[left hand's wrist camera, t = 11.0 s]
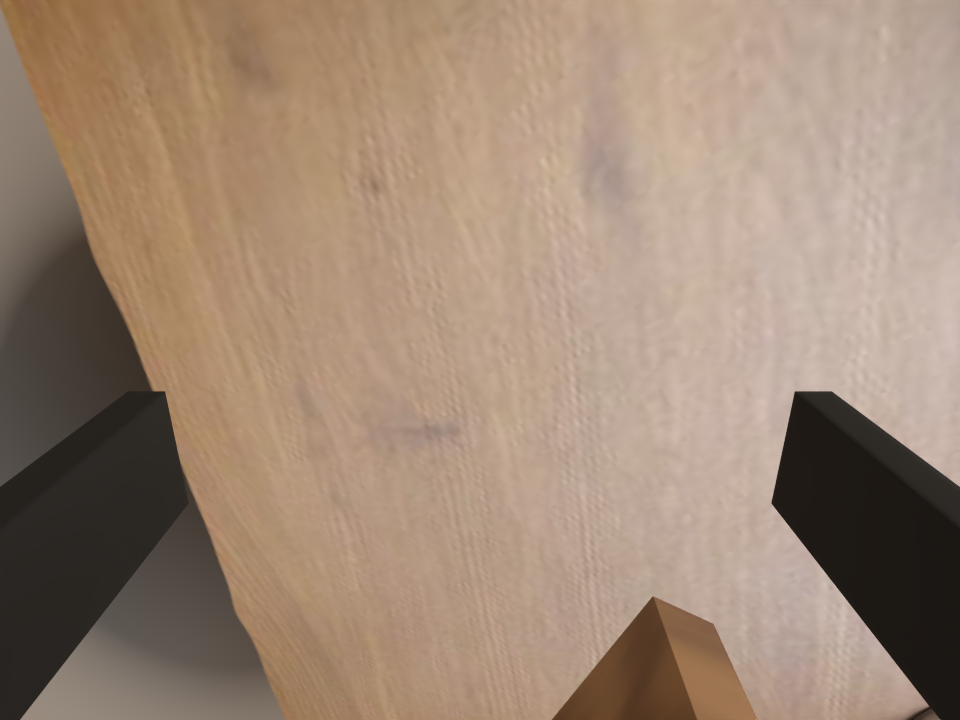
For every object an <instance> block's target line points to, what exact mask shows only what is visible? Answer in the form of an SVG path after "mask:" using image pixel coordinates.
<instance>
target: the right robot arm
mask: <svg viewBox="0 0 960 720" xmlns="http://www.w3.org/2000/svg"><path fill="white" fill-rule="evenodd" d="M913 720H940V719H939V718H938V716H937V715H936V714H935V713H934V711H933V710H932V709H930V710H928V711H926V712H924V713H922V714H920V715H919V716H917V717H916V718H914V719H913Z"/></svg>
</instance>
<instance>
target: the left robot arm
mask: <svg viewBox="0 0 960 720" xmlns="http://www.w3.org/2000/svg"><path fill="white" fill-rule="evenodd" d="M187 505H188V499H187V494H186V489H185V484H184V480H183V475H182V470H181V465H180V460H179V456H178V451H177V446H176V441H175V437H174V432H173V427H172V422H171V418H170V413H169V408H168V403H167V399H166V394H165V392H127V393H126V394H124V395H123V396H122V397H120V398H119V399H118V400H116V401H115V402H114V403H112V404H111V405H110V406H108V407H107V408H105V409H104V410H103V411H102V412H100V413H99V414H97V415H96V416H95V417H94V418H92V419H91V420H89V421H88V422H87V423H85V424H84V425H83V426H81V427H80V428H79V429H77V430H76V431H75V432H73V433H72V434H71V435H69V436H68V437H67V438H65V439H64V440H63V441H61V442H60V443H59V444H57V445H56V446H55V447H53V448H52V449H51V450H49V451H48V452H47V453H45V454H44V455H42V456H41V457H40V458H38V459H37V460H36V461H34V462H33V463H32V464H30V465H29V466H28V467H26V468H25V469H24V470H22V471H21V472H20V473H18V474H17V475H16V476H14V477H13V478H12V479H10V480H9V481H8V482H6V483H5V484H4V485H2V486H1V487H0V720H20V719H21V718H22V716H23V715H24V714H25V712H26V711H27V710H28V709H29V707H30V706H31V705H32V704H33V702H34V701H35V700H36V698H37V697H38V696H39V695H40V693H41V692H42V691H43V689H44V688H45V687H46V686H47V684H48V683H49V682H50V680H51V679H52V678H53V677H54V675H55V674H56V673H57V671H58V670H59V669H60V668H61V666H62V665H63V664H64V662H65V661H66V660H67V659H68V657H69V656H70V655H71V653H72V652H73V651H74V650H75V648H76V647H77V646H78V645H79V643H80V642H81V641H82V639H83V638H84V637H85V636H86V634H87V633H88V632H89V630H90V629H91V628H92V627H93V625H94V624H95V623H96V621H97V620H98V619H99V618H100V616H101V615H102V614H103V612H104V611H105V610H106V609H107V607H108V606H109V605H110V603H111V602H112V601H113V600H114V598H115V597H116V596H117V594H118V593H119V592H120V591H121V589H122V588H123V587H124V585H125V584H126V583H127V582H128V580H129V579H130V578H131V576H132V575H133V574H134V573H135V571H136V570H137V569H138V567H139V566H140V565H141V564H142V562H143V561H144V560H145V559H146V557H147V556H148V555H149V553H150V552H151V551H152V550H153V548H154V547H155V546H156V544H157V543H158V542H159V541H160V539H161V538H162V537H163V535H164V534H165V533H166V532H167V530H168V529H169V528H170V526H171V525H172V524H173V523H174V521H175V520H176V519H177V517H178V516H179V515H180V514H181V512H182V511H183V510H184V508H185V507H186V506H187ZM772 505H773V506H774V507H775V508H776V510H777V511H778V512H779V514H780V515H781V516H782V517H783V519H784V520H785V521H786V523H787V524H788V525H789V526H790V528H791V529H792V530H793V532H794V533H795V534H796V535H797V537H798V538H799V539H800V541H801V542H802V543H803V544H804V546H805V547H806V548H807V550H808V551H809V552H810V553H811V555H812V556H813V557H814V559H815V560H816V561H817V562H818V564H819V565H820V566H821V568H822V569H823V570H824V571H825V573H826V574H827V575H828V576H829V578H830V579H831V580H832V582H833V583H834V584H835V585H836V587H837V588H838V589H839V591H840V592H841V593H842V594H843V596H844V597H845V598H846V600H847V601H848V602H849V603H850V605H851V606H852V607H853V609H854V610H855V611H856V612H857V614H858V615H859V616H860V618H861V619H862V620H863V621H864V623H865V624H866V625H867V627H868V628H869V629H870V630H871V632H872V633H873V634H874V636H875V637H876V638H877V639H878V641H879V642H880V643H881V645H882V646H883V647H884V648H885V650H886V651H887V652H888V654H889V655H890V656H891V657H892V659H893V660H894V661H895V662H896V664H897V665H898V666H899V668H900V669H901V670H902V671H903V673H904V674H905V675H906V677H907V678H908V679H909V680H910V682H911V683H912V684H913V686H914V687H915V688H916V689H917V691H918V692H919V693H920V695H921V696H922V697H923V698H924V700H925V701H926V702H927V704H928V705H929V706H930V707H931V709H932V710H933V711H934V713H935V714H936V715H937V716H938V718H939V719H940V720H960V487H959V486H958V485H956V484H955V483H954V482H952V481H951V480H950V479H948V478H947V477H946V476H944V475H943V474H942V473H940V472H939V471H938V470H936V469H935V468H934V467H932V466H931V465H930V464H928V463H927V462H926V461H924V460H923V459H922V458H920V457H919V456H918V455H916V454H915V453H913V452H912V451H911V450H909V449H908V448H907V447H905V446H904V445H903V444H901V443H900V442H899V441H897V440H896V439H895V438H893V437H892V436H891V435H889V434H888V433H887V432H885V431H884V430H883V429H881V428H880V427H879V426H877V425H876V424H875V423H873V422H872V421H871V420H869V419H868V418H867V417H865V416H864V415H863V414H861V413H860V412H859V411H857V410H856V409H855V408H853V407H852V406H850V405H849V404H848V403H846V402H845V401H844V400H842V399H841V398H840V397H838V396H837V395H836V394H834V393H833V392H795V394H794V399H793V403H792V408H791V413H790V418H789V422H788V427H787V432H786V437H785V441H784V446H783V451H782V456H781V460H780V465H779V470H778V475H777V479H776V484H775V489H774V494H773V499H772Z"/></svg>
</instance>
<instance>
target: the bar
mask: <svg viewBox="0 0 960 720" xmlns="http://www.w3.org/2000/svg"><path fill="white" fill-rule="evenodd" d="M552 720H757V718H756V716H755V713H754V711H753V709H752V707H751V705H750V703H749V700H748V698H747V696H746V694H745V692H744V690H743V687H742V685H741V683H740V681H739V679H738V676H737V674H736V672H735V670H734V668H733V666H732V663H731V661H730V659H729V657H728V655H727V653H726V650H725V648H724V646H723V644H722V642H721V639H720V637H719V635H718V633H717V631H716V629H715V626H714V624H712V623H710V622H708V621H706V620H704V619H702V618H699V617H697V616H695V615H693V614H691V613H688V612H686V611H684V610H682V609H680V608H678V607H675V606H673V605H671V604H669V603H667V602H664V601H662V600H660V599H658V598H656V597H654V596H653V597H652V598H651V599H650V600H649V602H648V603H647V604H646V605H645V607H644V608H643V609H642V610H641V611H640V613H639V614H638V615H637V616H636V618H635V619H634V620H633V621H632V622H631V624H630V625H629V626H628V627H627V629H626V630H625V631H624V632H623V633H622V635H621V636H620V637H619V638H618V640H617V641H616V642H615V643H614V644H613V646H612V647H611V648H610V649H609V651H608V652H607V653H606V654H605V655H604V657H603V658H602V659H601V660H600V662H599V663H598V664H597V665H596V666H595V668H594V669H593V670H592V671H591V673H590V674H589V675H588V676H587V677H586V679H585V680H584V681H583V682H582V684H581V685H580V686H579V687H578V688H577V690H576V691H575V692H574V693H573V695H572V696H571V697H570V698H569V699H568V701H567V702H566V703H565V704H564V706H563V707H562V708H561V709H560V710H559V712H558V713H557V714H556V715H555V717H554V718H553V719H552Z"/></svg>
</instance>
